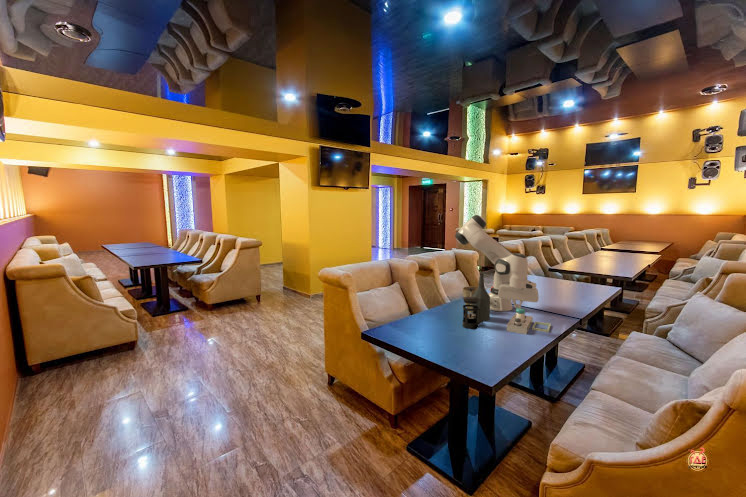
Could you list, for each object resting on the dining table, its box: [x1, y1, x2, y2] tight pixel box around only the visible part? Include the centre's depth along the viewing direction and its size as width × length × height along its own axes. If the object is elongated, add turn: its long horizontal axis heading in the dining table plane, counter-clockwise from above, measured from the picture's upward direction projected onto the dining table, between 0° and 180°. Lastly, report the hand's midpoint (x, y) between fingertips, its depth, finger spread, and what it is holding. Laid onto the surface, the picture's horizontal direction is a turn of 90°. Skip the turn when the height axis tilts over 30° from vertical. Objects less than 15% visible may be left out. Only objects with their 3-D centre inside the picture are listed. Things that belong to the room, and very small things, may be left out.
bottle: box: [471, 272, 491, 324], centre depth 198 cm, size 10×10×30 cm
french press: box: [462, 288, 482, 330], centre depth 189 cm, size 12×9×23 cm
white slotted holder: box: [506, 313, 534, 335], centre depth 184 cm, size 22×10×5 cm, turn 146°
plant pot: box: [461, 285, 487, 314], centre depth 216 cm, size 15×15×16 cm
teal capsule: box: [515, 307, 526, 323], centre depth 184 cm, size 5×5×10 cm
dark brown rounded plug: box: [515, 318, 521, 326], centre depth 177 cm, size 3×3×4 cm
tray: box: [531, 321, 552, 333], centre depth 182 cm, size 8×12×3 cm, turn 146°
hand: (517, 307), depth 177 cm, fingers closed
